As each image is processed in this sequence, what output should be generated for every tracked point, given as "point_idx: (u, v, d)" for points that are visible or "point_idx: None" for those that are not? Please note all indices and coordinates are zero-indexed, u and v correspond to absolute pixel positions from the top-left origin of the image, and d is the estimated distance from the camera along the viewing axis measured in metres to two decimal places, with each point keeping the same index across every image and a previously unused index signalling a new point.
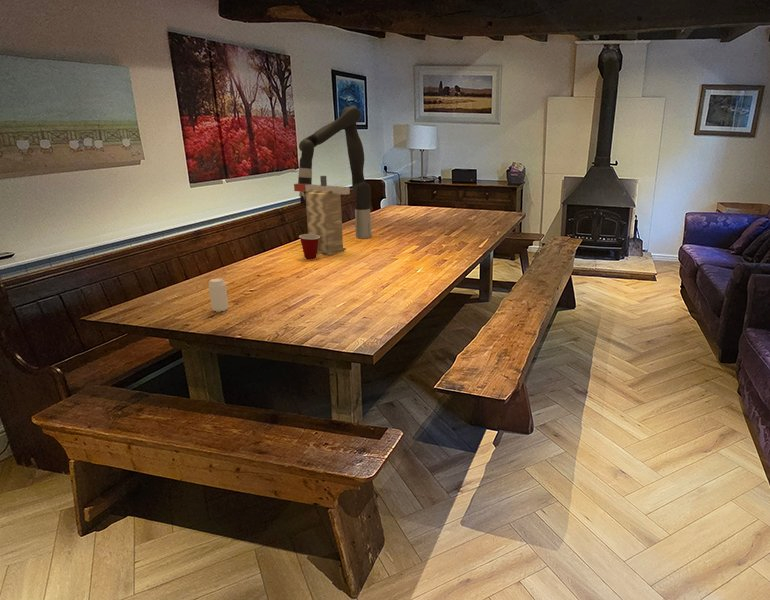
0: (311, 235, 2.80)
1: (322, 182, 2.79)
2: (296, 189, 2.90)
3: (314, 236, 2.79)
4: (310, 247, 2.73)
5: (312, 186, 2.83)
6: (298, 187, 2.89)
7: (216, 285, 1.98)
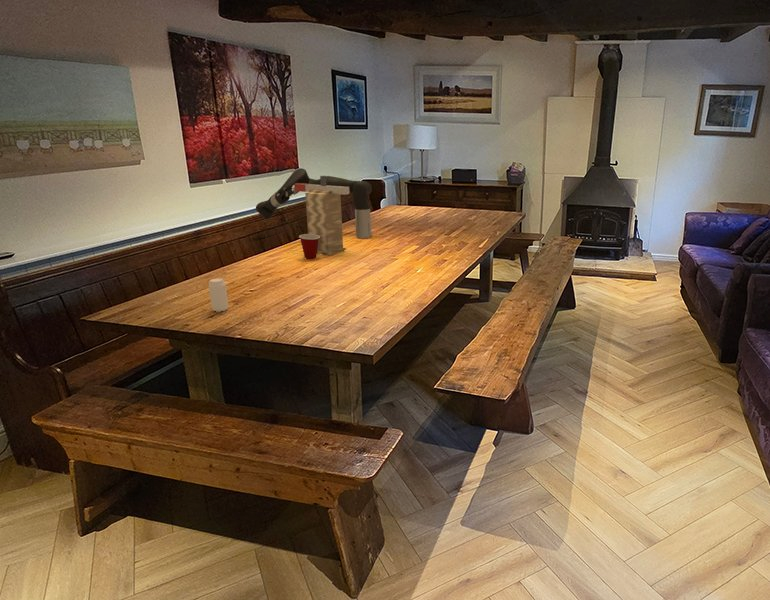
0: (311, 235, 2.80)
1: (322, 182, 2.79)
2: (296, 189, 2.90)
3: (314, 236, 2.79)
4: (310, 247, 2.73)
5: (312, 186, 2.83)
6: (298, 187, 2.89)
7: (216, 285, 1.98)
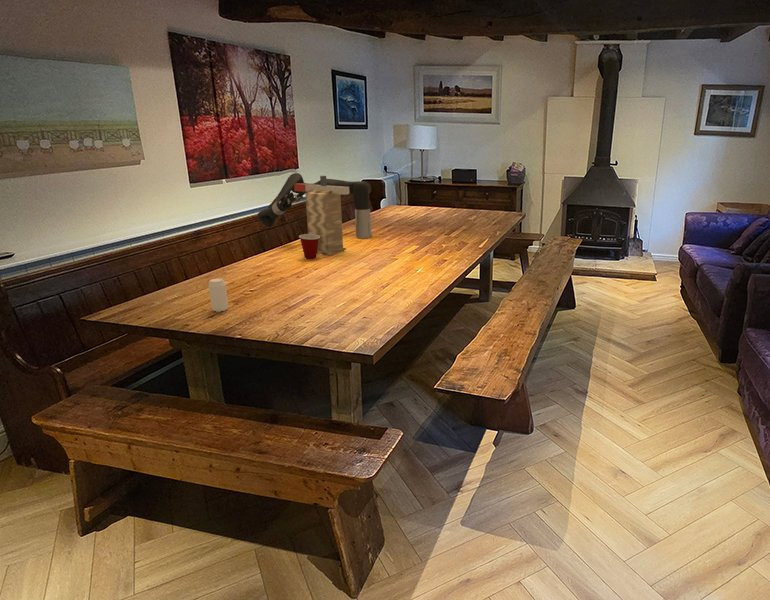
0: (311, 235, 2.80)
1: (322, 182, 2.79)
2: (296, 189, 2.90)
3: (314, 236, 2.79)
4: (310, 247, 2.73)
5: (312, 186, 2.83)
6: (298, 187, 2.89)
7: (216, 285, 1.98)
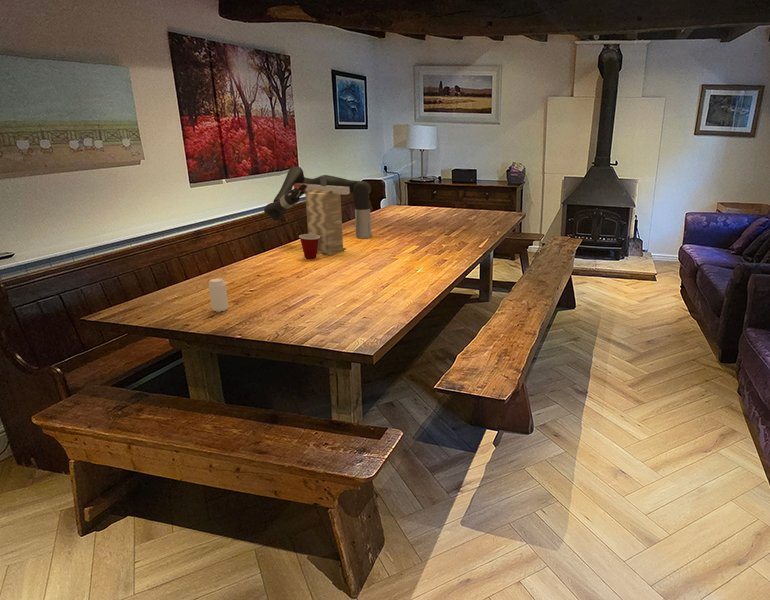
0: (311, 235, 2.80)
1: (322, 182, 2.79)
2: None
3: (314, 236, 2.79)
4: (310, 247, 2.73)
5: (312, 186, 2.83)
6: None
7: (216, 285, 1.98)
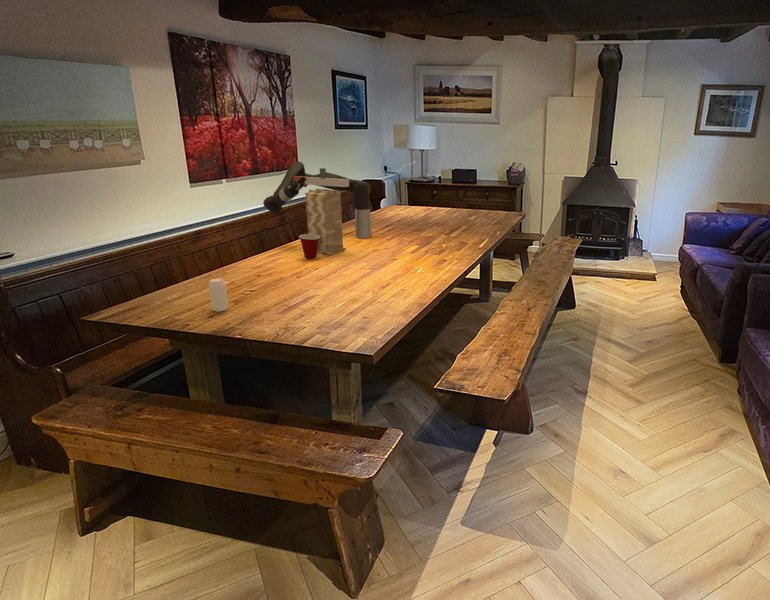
0: (311, 235, 2.80)
1: (321, 175, 2.78)
2: None
3: (314, 236, 2.79)
4: (310, 247, 2.73)
5: (312, 179, 2.82)
6: None
7: (216, 285, 1.98)
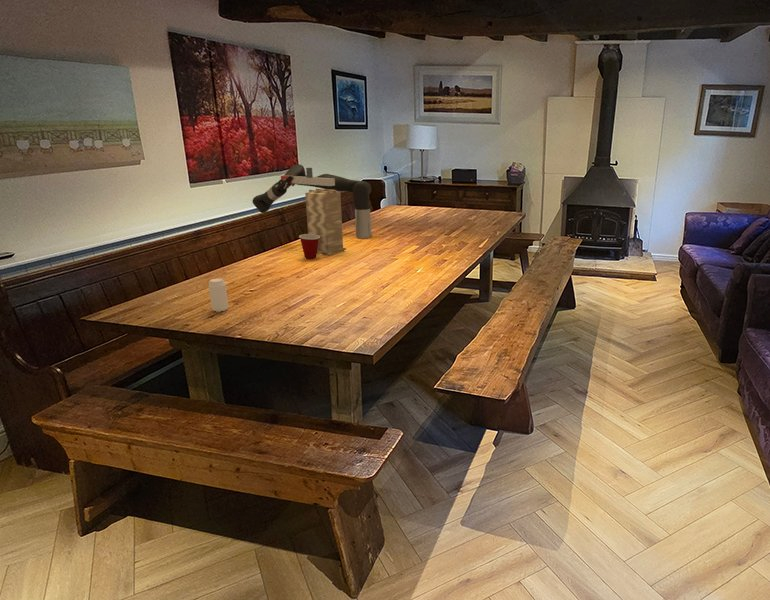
0: (311, 235, 2.80)
1: (308, 174, 2.83)
2: None
3: (314, 236, 2.79)
4: (310, 247, 2.73)
5: (298, 178, 2.87)
6: None
7: (216, 285, 1.98)
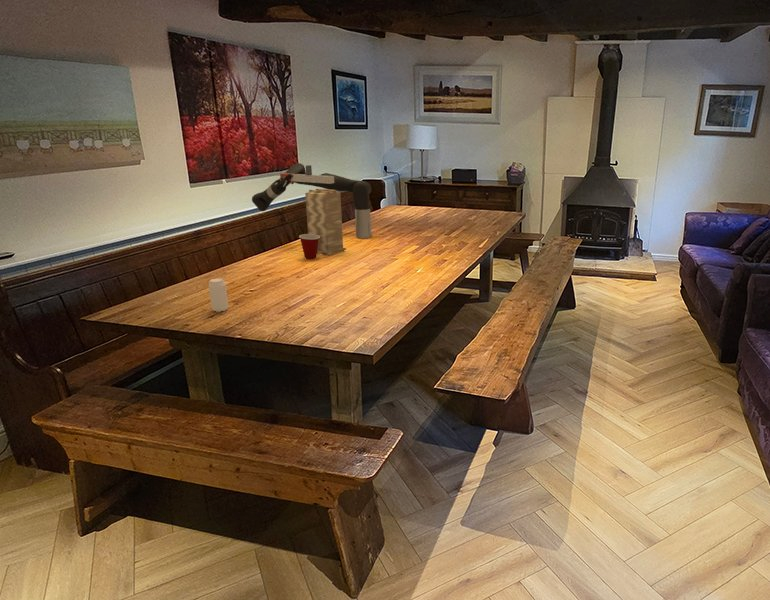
0: (311, 235, 2.80)
1: (307, 171, 2.83)
2: None
3: (314, 236, 2.79)
4: (310, 247, 2.73)
5: (298, 176, 2.87)
6: None
7: (216, 285, 1.98)
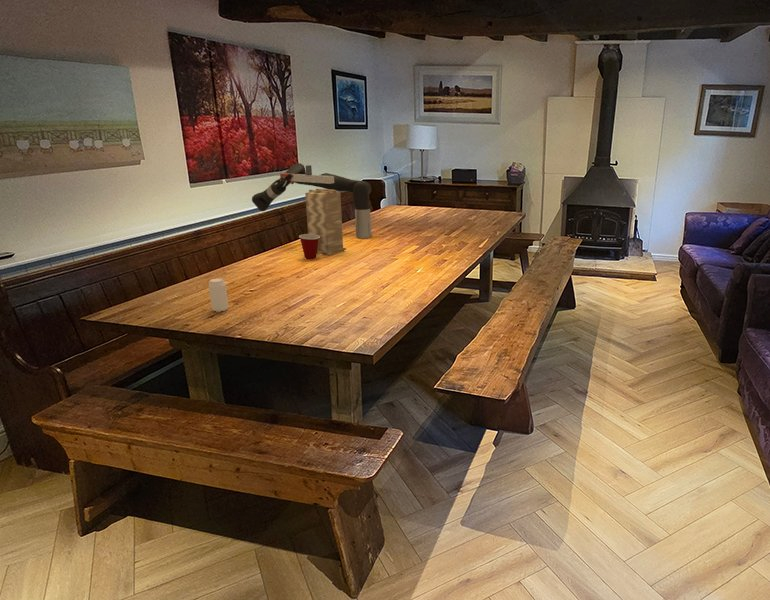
0: (311, 235, 2.80)
1: (307, 171, 2.83)
2: None
3: (314, 236, 2.79)
4: (310, 247, 2.73)
5: (298, 176, 2.87)
6: None
7: (216, 285, 1.98)
